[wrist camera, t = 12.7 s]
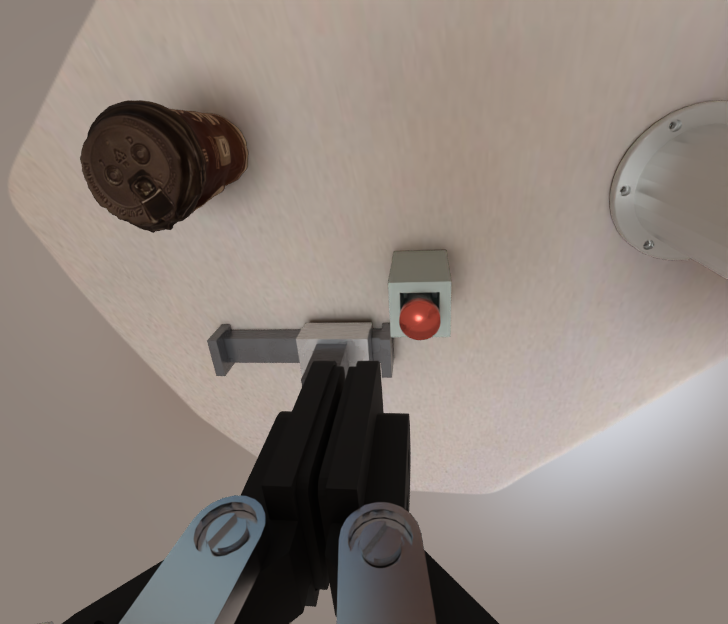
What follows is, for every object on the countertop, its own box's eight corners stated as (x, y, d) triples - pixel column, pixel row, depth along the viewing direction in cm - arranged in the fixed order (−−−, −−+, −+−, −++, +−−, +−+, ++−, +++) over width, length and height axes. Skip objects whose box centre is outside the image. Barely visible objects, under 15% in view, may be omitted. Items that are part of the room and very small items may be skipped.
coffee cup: (258, 206, 41) (195, 248, 30) (175, 194, 42) (80, 230, 30) (259, 107, 37) (186, 109, 26) (168, 94, 38) (55, 91, 26)
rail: (392, 322, 45) (389, 339, 42) (393, 358, 47) (391, 377, 44) (221, 324, 48) (207, 340, 44) (229, 358, 49) (216, 375, 46)
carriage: (371, 320, 44) (359, 375, 35) (375, 369, 46) (364, 431, 38) (305, 321, 45) (277, 374, 36) (312, 369, 47) (288, 429, 39)
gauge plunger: (437, 270, 38) (440, 303, 32) (437, 302, 40) (440, 340, 34) (402, 271, 39) (398, 303, 33) (403, 303, 40) (399, 340, 34)
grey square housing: (446, 249, 41) (451, 281, 34) (445, 299, 43) (450, 339, 36) (393, 251, 41) (388, 282, 34) (395, 300, 44) (390, 339, 37)
